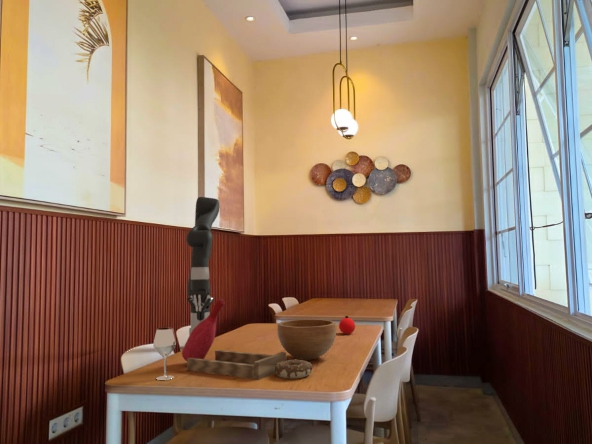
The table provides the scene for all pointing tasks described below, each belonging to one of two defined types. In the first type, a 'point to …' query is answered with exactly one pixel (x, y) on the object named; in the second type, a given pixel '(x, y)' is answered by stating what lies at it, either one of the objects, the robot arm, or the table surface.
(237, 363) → the tray
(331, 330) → the bowl
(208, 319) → the wine bottle
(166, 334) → the wineglass
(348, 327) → the ornament
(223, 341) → the table surface
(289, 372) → the donut
